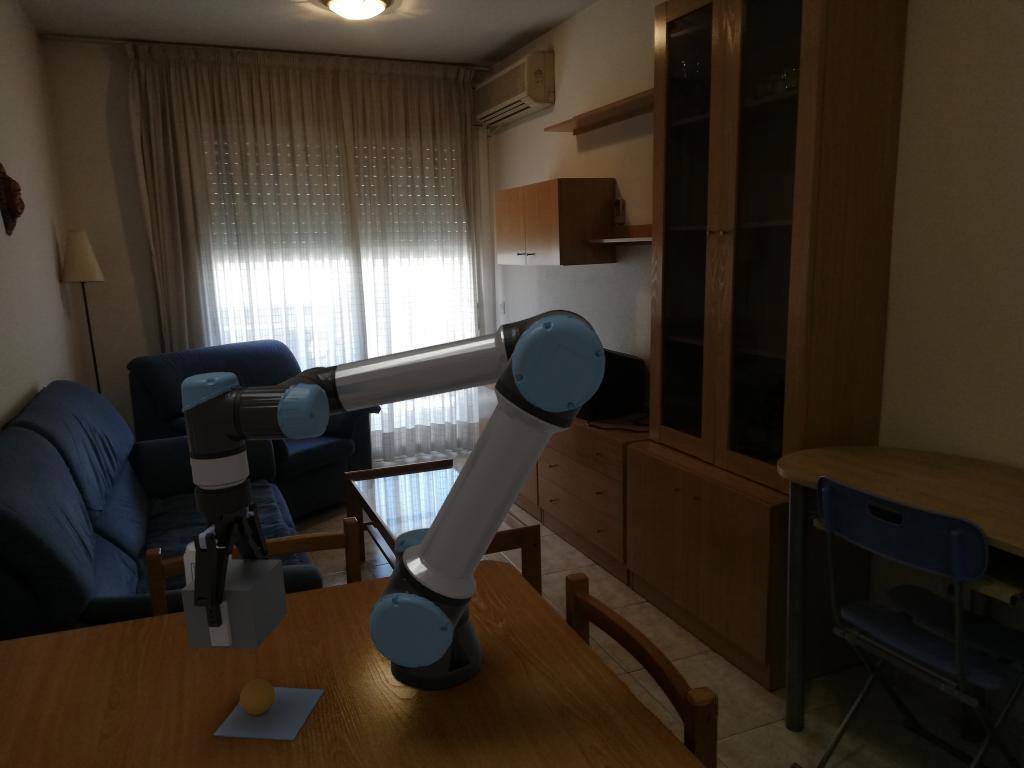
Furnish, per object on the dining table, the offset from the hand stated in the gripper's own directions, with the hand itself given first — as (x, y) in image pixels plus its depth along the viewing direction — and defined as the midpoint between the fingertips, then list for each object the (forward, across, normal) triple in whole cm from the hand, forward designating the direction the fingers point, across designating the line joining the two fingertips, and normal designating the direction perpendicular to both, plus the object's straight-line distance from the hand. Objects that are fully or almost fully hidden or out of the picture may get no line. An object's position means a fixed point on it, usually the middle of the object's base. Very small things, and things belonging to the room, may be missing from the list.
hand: (240, 625), depth 108 cm
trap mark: (+14, 0, +3) cm, 15 cm away
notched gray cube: (+1, 0, 0) cm, 1 cm away
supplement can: (+14, -27, -21) cm, 37 cm away
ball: (+12, 0, +1) cm, 12 cm away
